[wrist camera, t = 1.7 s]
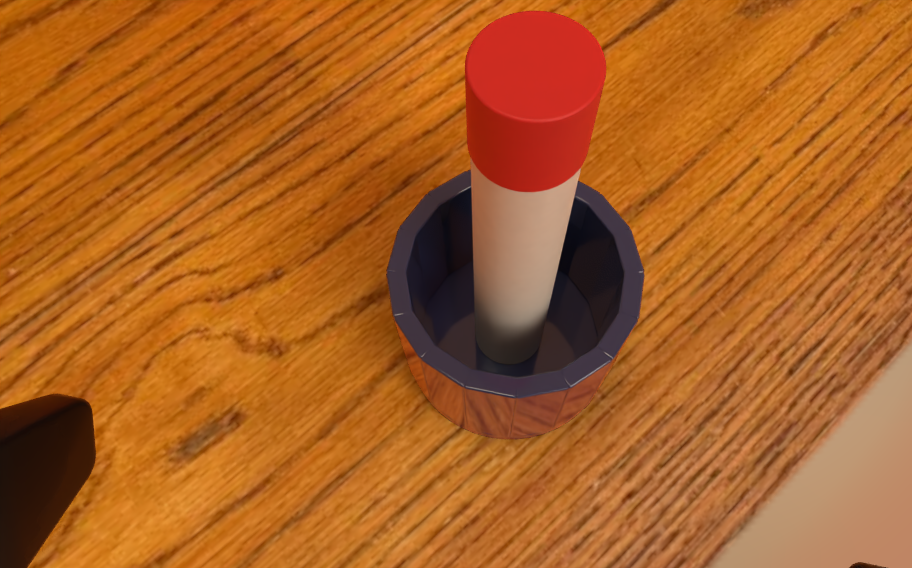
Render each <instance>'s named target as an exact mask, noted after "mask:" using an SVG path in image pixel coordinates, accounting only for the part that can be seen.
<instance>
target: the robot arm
mask: <svg viewBox="0 0 912 568" xmlns="http://www.w3.org/2000/svg"><path fill="white" fill-rule="evenodd" d="M95 458H96V450H95V438H94V426H93V414H92V408H91V406H90V404H89V403H88V402H87V401H86V400H85V399H82V398H77V397H72V396H68V395H63V394H50V395H47V396H43V397H40V398H36V399H33V400H29V401H26V402H23V403H19V404H16V405H12V406H9V407H5V408H2V409H0V568H27V567H28V566H29V564H30V563H31V562H32V560H33V559H34V557H35V556H36V554H37V553H38V551H39V550H40V548H41V547H42V545H43V544H44V542H45V541H46V539H47V538H48V536H49V535H50V533H51V532H52V531H53V529H54V528H55V526H56V525H57V523H58V522H59V520H60V519H61V517H62V516H63V514H64V513H65V511H66V510H67V508H68V507H69V505H70V504H71V502H72V501H73V500H74V498H75V497H76V495H77V494H78V492H79V491H80V489H81V488H82V486H83V485H84V483H85V482H86V480H87V479H88V477H89V476H90V474H91V472H92V470H93V467H94V464H95ZM850 568H886V567H881V566H877V565H872V564H867V563H862V562H858V563H855V564H853V565H852V566H851V567H850Z"/></svg>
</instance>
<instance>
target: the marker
mask: <svg viewBox="0 0 912 568" xmlns="http://www.w3.org/2000/svg"><path fill="white" fill-rule="evenodd" d="M605 77H606V61H605V57H604V53H603V51H602V49H601V46H600V45H599V43H598V41H597V40H596V38H595V37H594V36H593V35H592V34H591V33H590V32H589V31H588V30H587V29H586V28H585V27H584V26H582V25H581V24H579V23H578V22H576V21H574V20H572V19H570V18H568V17H566V16H563V15H560V14H556V13H552V12H546V11H524V12H518V13H513V14H510V15H507V16H504V17H502V18H499V19H497V20H495V21H494V22H492V23H490V24H489V25H488V26H486V27H485V28H484V29H483V30H482V31H481V32H480V33H479V34H478V35H477V36H476V38H475V39H474V40H473V42H472V44H471V46H470V47H469V50H468V52H467V55H466V60H465V87H466V117H467V144H468V150H469V154H470V157H471V192H472V230H473V268H474V306H475V336H476V341H477V344H478V346H479V348H480V350H481V351H482V352H483V353H484V354H485V355H486V356H487V357H488V358H490V359H491V360H493V361H495V362H498V363H501V364H517V363H521V362H523V361H525V360H527V359H528V358H530V357H531V356H532V355H533V354H534V353H535V352H536V351H537V349H538V347H539V345H540V343H541V339H542V334H543V330H544V326H545V321H546V317H547V313H548V308H549V304H550V300H551V295H552V291H553V287H554V282H555V278H556V274H557V269H558V265H559V261H560V256H561V252H562V248H563V243H564V239H565V235H566V231H567V226H568V222H569V218H570V213H571V209H572V205H573V200H574V196H575V192H576V187H577V183H578V179H579V174H580V170H581V166H582V164H583V163H584V161H585V158H586V156H587V152H588V148H589V144H590V140H591V136H592V132H593V127H594V123H595V119H596V115H597V111H598V106H599V102H600V98H601V94H602V90H603V85H604V81H605Z"/></svg>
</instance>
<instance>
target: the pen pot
mask: <svg viewBox="0 0 912 568" xmlns="http://www.w3.org/2000/svg"><path fill="white" fill-rule="evenodd" d="M386 276H387V282H388V289H389V295H390V302H391V308H392V315H393V318H394V322H395V325H396V328H397V331H398V334H399V337H400V340H401V343H402V347H403V350H404V353H405V356H406V359H407V362H408V365H409V368H410V371H411V373H412V375H413V376H414V378H415V380H416V382H417V384H418V386H419V387H420V389H421V391H422V393H423V394H424V395H425V397H426V398H427V399H428V401H429V402H430V403H431V404H432V405H433V406H434V407H435V408H436V409H437V410H438V412H439V413H441V414H442V415H443V416H445V417H446V418H447V419H448V420H450V421H451V422H453V423H455V424H456V425H458V426H460V427H461V428H463V429H466V430H468V431H470V432H473V433H475V434H479V435H483V436H486V437H491V438H498V439H522V438H530V437H534V436H538V435H542V434H545V433H547V432H550V431H552V430H555V429H557V428H559V427H560V426H562V425H564V424H566V423H567V422H569V421H570V420H571V419H573V418H574V417H575V416H577V415H578V414H579V413H580V412H581V411H582V410H583V409H584V408H586V406H587V405H589V403H590V402H591V400H592V398H593V397H594V395H595V394H596V392H597V391H598V389H599V387H600V386H601V384H602V383H603V381H604V379H605V378H606V376H607V375H608V373H609V371H610V369H611V368H612V366H613V364H614V362H615V361H616V359H617V357H618V355H619V354H620V352H621V350H622V348H623V347H624V345H625V343H626V341H627V340H628V338H629V336H630V334H631V332H632V331H633V329H634V327H635V325H636V324H637V322H638V319H639V315H640V307H641V299H642V291H643V283H644V269H643V266H642V263H641V260H640V256H639V253H638V250H637V247H636V244H635V240H634V237H633V234H632V231H631V229H630V228H629V226H628V225H627V224H626V222H625V221H624V220H623V219H622V218H621V217H620V215H619V214H618V213H617V212H616V211H615V209H614V208H613V207H612V206H611V205H610V204H609V202H608V201H607V200H606V199H605V198H604V196H603V195H602V194H600V193H599V192H598V191H596V190H594V189H592V188H591V187H589V186H587V185H585V184H583V183H582V182H580V181H578V183H577V187H576V192H575V196H574V200H573V205H572V209H571V213H570V218H569V222H568V226H567V231H566V235H565V239H564V243H563V248H562V252H561V256H560V261H559V265H558V269H557V274H556V278H555V282H554V287H553V291H552V295H551V300H550V304H549V308H548V313H547V317H546V321H545V326H544V330H543V334H542V339H541V343H540V345H539V347H538V349H537V351H536V352H535V353H534V354H533V355H532V356H531V357H530V358H528V359H527V360H525V361H523V362H521V363H517V364H501V363H498V362H495V361H493V360H491V359H490V358H488V357H487V356H486V355H485V354H484V353H483V352H482V351H481V350H480V348H479V346H478V344H477V341H476V336H475V306H474V268H473V230H472V192H471V170H468V171H465V172H463V173H461V174H460V175H458V176H456V177H454V178H453V179H451V180H449V181H447V182H446V183H444V184H442V185H440V186H439V187H437V188H435V189H433V190H432V191H430V192H428V194H426V195H425V196H424V197H423V199H422V200H421V201H420V202H419V204H418V205H417V206H416V207H415V209H414V210H413V211H412V212H411V214H410V215H409V216H408V217H407V218H406V220H405V221H404V222H403V223H402V225H401V226H400V227H399V229H398V231H397V235H396V238H395V242H394V245H393V249H392V252H391V256H390V260H389V263H388V267H387V274H386Z"/></svg>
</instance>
